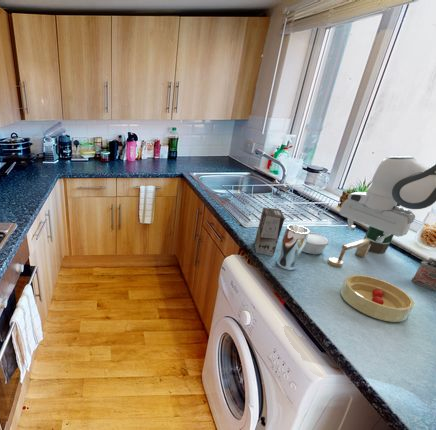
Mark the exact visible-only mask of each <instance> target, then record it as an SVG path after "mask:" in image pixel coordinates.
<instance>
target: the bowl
mask: <svg viewBox="0 0 436 430" xmlns="http://www.w3.org/2000/svg"><path fill="white" fill-rule="evenodd" d="M375 289H379V290H381V291H383V293H384V296H383V297H381V298H382V299H383V301H384V303H383V305H381V304H378V303H376V302H373V301H372V298H373V297H375V296H373V294H372V292H373V290H375ZM340 295H341V297H342V298H343V300H344V301H345V302H346V303H347V304H349V306H351V307H352V308H354V309H355V310H357V311H358V312H360V313H362V314H364V315H367V316H369V317H371V318H374V319H378V320H380V321H385V322H391V323H399V322H403V321H405V320H407V318H408V317H409V315H410V314H411V312H412V310H413V309H414V305H415V301H414V300H413V298H412V296H410V295H409V294H408V293H407V292H406V291H404V290H403V289H402V288H400V287H398V286H396V285H394V284H392V283H391V282H388V281H385V280H383V279H380V278H377V277H373V276H369V275H364V274H351V275H348V276H347V277H346V278H345V280H344V282H343V284H342V286H341V288H340Z"/></svg>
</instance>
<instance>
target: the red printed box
mask: <svg viewBox="0 0 436 430" xmlns="http://www.w3.org/2000/svg"><path fill="white" fill-rule="evenodd" d="M410 281H411V282H412V283H414V284H416V285H418V286H420V287H424V288H427V289H429V290H433V291H436V258H434V257H429V258H428V260H427V261H424V260H422V261H421V262H420V265H419V266H418V268H417V270H416V272H415V274H414V276H413V277H412V278H411V280H410Z"/></svg>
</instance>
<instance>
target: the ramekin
mask: <svg viewBox="0 0 436 430" xmlns="http://www.w3.org/2000/svg"><path fill="white" fill-rule="evenodd" d="M329 242H330V241H329V240H328V238H326V237H325V236H323V235H321V234H319V233H317V232H312V231H309V234H308V238H307V242H306V244H305V247H304V249H303V250H302V252H303V253H305V254H309V255H320V254H322V253H323V252H324V250H325V248H326V247H327V246H328V245H329Z"/></svg>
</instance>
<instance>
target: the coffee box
mask: <svg viewBox="0 0 436 430" xmlns="http://www.w3.org/2000/svg"><path fill="white" fill-rule="evenodd" d="M285 219H286V217H285V216H284V213H283V211H282V209H279V208H272V207H271V208H270V207H263V208H262V211H261V216H260V219H259V222H258V227H257V232H256V235H255V239H254V247H255V248H254V249H255V253H256V254H259V255H264V256H270V257H274V255H275V252H276V249H277V245H278V241H279V238H280V236H281V232H282V229H283V225H284V222H285Z"/></svg>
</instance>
